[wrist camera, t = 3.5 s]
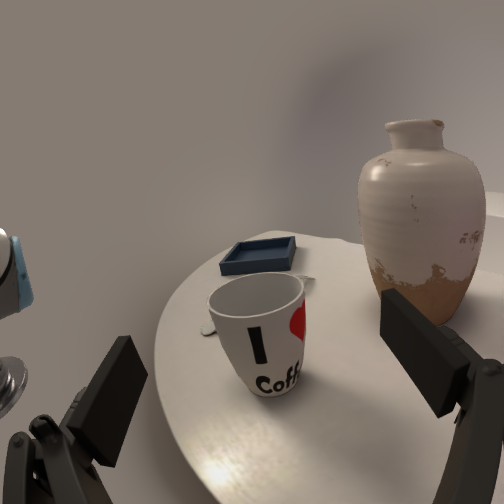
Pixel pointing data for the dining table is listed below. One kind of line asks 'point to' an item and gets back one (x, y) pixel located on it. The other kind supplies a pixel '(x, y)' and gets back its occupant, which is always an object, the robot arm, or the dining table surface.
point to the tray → (259, 256)
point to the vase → (422, 218)
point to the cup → (262, 329)
